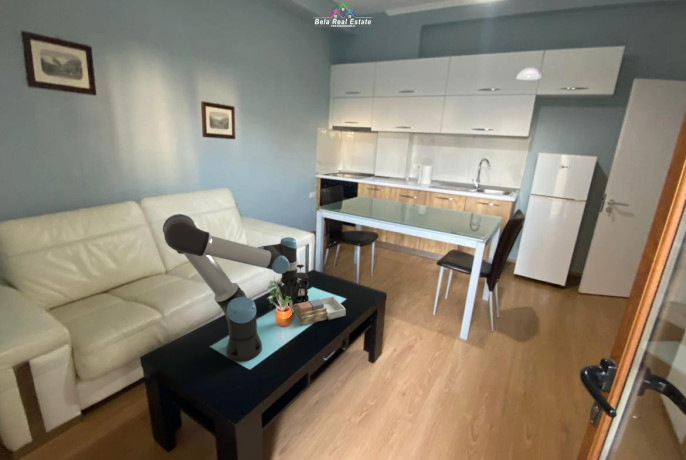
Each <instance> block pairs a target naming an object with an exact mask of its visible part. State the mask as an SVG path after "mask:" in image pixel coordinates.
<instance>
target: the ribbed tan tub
mask: <svg viewBox="0 0 686 460" xmlns="http://www.w3.org/2000/svg"><path fill="white" fill-rule="evenodd" d="M309 301H310V300H309ZM309 301H308V302H309ZM326 309H327V308H322V309H317V310H312V311H309V312H304V313H300V311H299V310H298V304H294V305H292V310H293V314H294V315H295V316H296V318H297V320H298V321H299V323H300V324H301V326H305V325H310V324H313V323H314V324H315V323H318V322H322V321H326V320H329V319H328V312H327V311H326Z"/></svg>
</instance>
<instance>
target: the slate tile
mask: <svg viewBox="0 0 686 460" xmlns="http://www.w3.org/2000/svg"><path fill="white" fill-rule="evenodd" d="M320 299H321V298H317V299H312V300H309V303H310V304H311V305H312V310H317V309H322V308H324V304H323V302H322V301H321V300H320Z"/></svg>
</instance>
